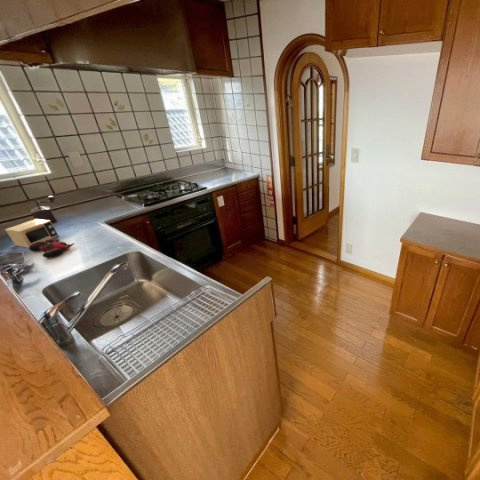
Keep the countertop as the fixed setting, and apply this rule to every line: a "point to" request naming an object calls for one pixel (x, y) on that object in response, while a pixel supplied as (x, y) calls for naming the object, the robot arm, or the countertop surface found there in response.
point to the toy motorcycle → (50, 247)
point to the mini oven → (32, 232)
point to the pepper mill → (44, 211)
